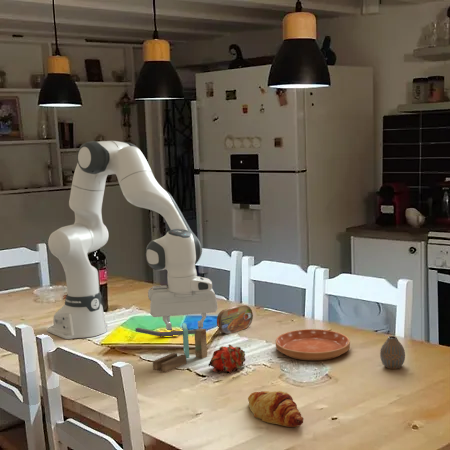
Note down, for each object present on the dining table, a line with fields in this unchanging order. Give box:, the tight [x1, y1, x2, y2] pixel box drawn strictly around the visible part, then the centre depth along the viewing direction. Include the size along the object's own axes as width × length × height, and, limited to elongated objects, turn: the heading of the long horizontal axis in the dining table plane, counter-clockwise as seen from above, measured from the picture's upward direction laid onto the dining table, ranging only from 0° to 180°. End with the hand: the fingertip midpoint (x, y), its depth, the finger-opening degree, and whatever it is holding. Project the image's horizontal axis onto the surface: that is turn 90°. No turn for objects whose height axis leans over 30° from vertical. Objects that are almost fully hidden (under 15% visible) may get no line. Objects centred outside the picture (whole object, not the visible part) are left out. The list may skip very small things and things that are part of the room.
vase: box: [379, 335, 406, 370], centre depth 197 cm, size 7×7×9 cm
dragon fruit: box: [208, 344, 246, 374], centre depth 199 cm, size 8×8×12 cm
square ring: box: [181, 322, 190, 359], centre depth 209 cm, size 1×8×8 cm, turn 7°
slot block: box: [152, 352, 187, 373], centre depth 203 cm, size 5×9×4 cm, turn 142°
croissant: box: [247, 390, 304, 428], centre depth 167 cm, size 21×10×8 cm, turn 33°
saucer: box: [275, 328, 351, 361], centre depth 215 cm, size 23×23×4 cm
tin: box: [216, 304, 254, 335], centre depth 239 cm, size 15×3×8 cm, turn 131°
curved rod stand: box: [135, 327, 208, 359], centre depth 212 cm, size 21×12×10 cm, turn 52°
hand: (184, 328), depth 209 cm, fingers open, 8 cm apart
